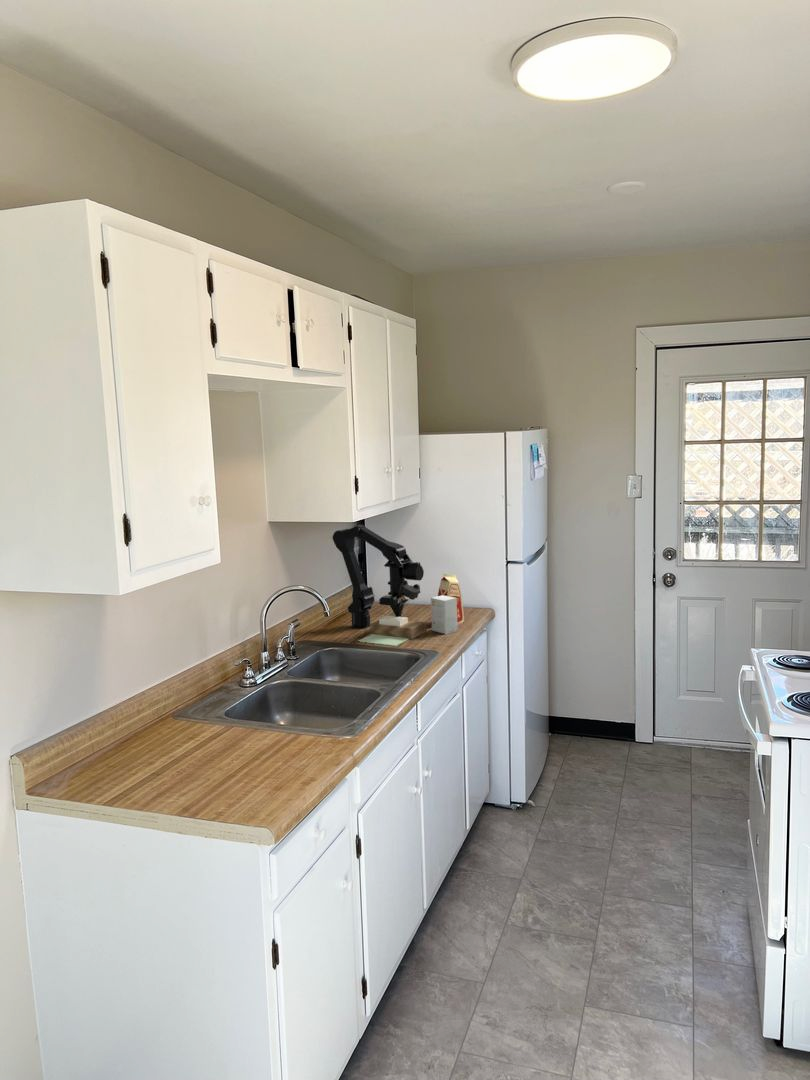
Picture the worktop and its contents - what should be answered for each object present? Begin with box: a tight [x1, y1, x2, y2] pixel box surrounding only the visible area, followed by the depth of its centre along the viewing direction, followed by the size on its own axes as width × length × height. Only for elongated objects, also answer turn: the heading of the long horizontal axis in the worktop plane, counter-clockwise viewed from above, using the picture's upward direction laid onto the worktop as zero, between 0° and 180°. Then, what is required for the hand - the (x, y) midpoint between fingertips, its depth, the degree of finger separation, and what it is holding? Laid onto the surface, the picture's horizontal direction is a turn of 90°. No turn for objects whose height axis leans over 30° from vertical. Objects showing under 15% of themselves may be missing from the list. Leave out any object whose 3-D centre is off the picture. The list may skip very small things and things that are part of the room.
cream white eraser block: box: [378, 615, 409, 626], centre depth 304 cm, size 9×6×2 cm, turn 61°
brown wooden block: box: [369, 619, 425, 640], centre depth 305 cm, size 18×10×4 cm, turn 61°
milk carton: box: [437, 573, 465, 625], centre depth 319 cm, size 9×9×20 cm
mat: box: [358, 634, 410, 647], centre depth 296 cm, size 16×10×1 cm, turn 61°
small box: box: [430, 595, 458, 635], centre depth 306 cm, size 8×6×13 cm
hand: (398, 618), depth 308 cm, fingers closed
